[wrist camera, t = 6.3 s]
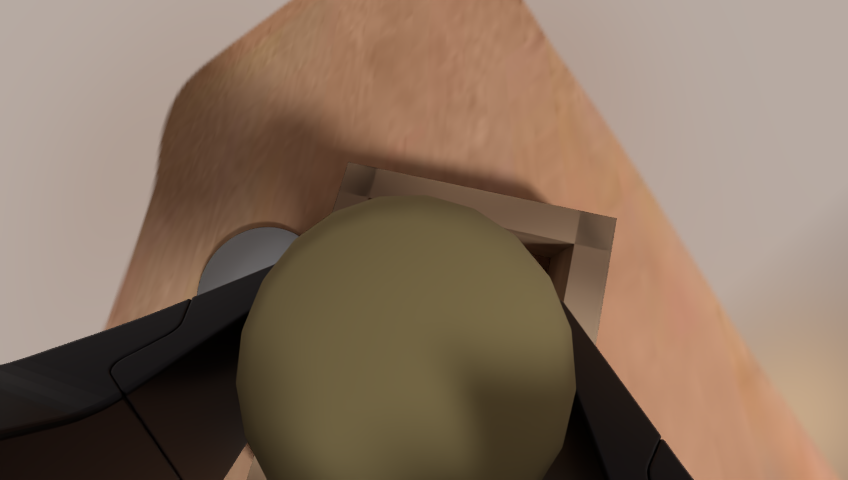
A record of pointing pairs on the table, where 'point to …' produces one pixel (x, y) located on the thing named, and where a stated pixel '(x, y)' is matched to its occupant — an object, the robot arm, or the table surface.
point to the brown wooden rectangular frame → (528, 220)
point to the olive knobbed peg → (406, 351)
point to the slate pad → (245, 256)
